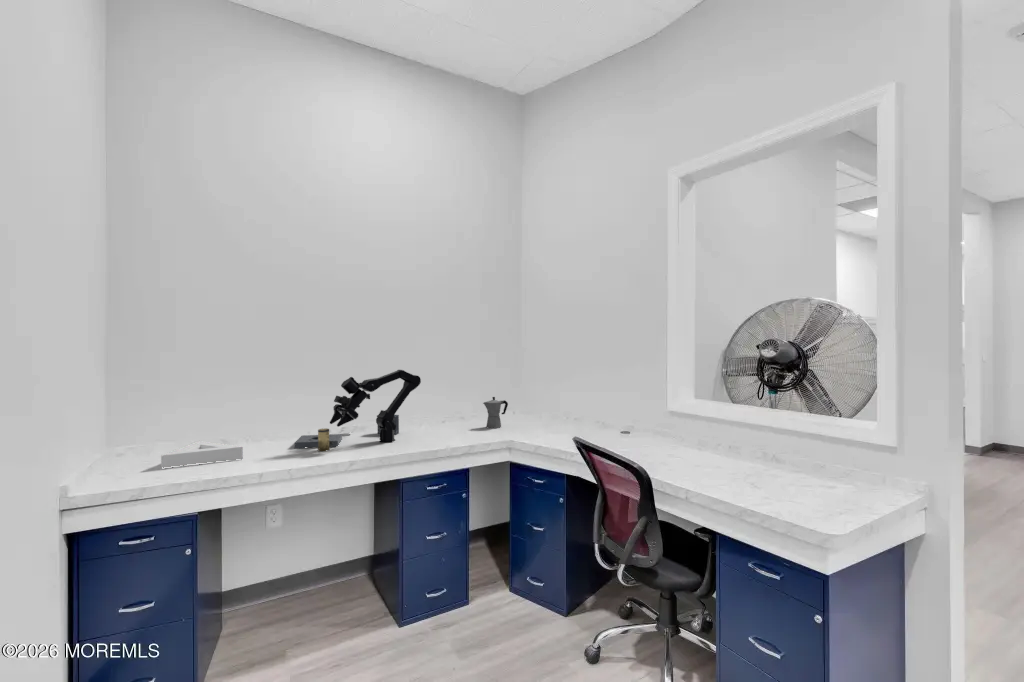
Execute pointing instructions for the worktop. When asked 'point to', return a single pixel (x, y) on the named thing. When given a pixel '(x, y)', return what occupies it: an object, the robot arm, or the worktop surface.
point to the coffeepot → (494, 412)
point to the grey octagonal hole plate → (313, 441)
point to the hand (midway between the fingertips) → (333, 424)
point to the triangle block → (201, 454)
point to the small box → (395, 421)
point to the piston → (323, 439)
